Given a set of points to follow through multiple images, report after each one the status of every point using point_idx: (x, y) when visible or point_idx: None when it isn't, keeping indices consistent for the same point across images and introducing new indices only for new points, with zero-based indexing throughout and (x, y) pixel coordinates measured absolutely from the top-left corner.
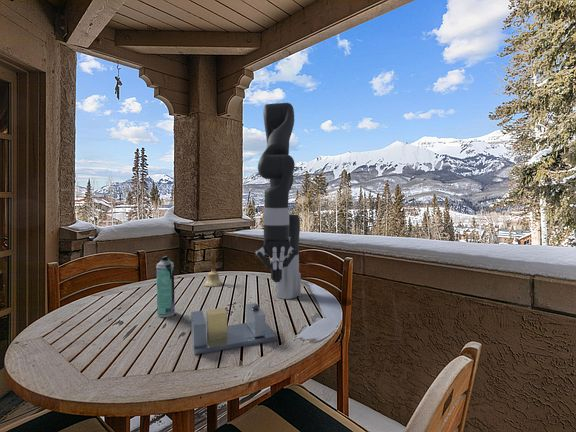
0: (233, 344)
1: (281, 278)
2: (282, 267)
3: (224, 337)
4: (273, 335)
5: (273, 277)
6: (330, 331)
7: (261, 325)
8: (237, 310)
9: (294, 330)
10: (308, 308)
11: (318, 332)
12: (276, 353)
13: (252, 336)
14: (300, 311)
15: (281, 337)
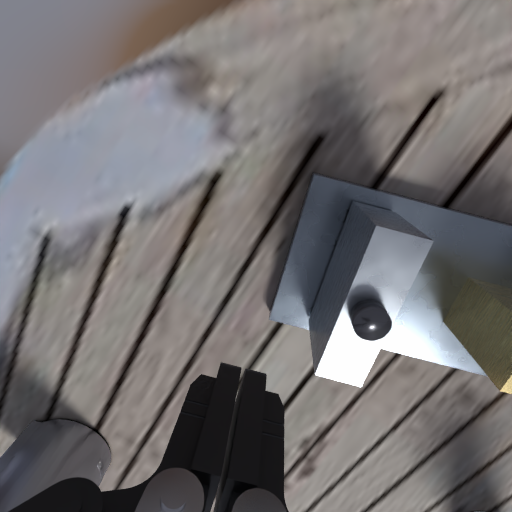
0: (484, 219)
1: (195, 382)
2: (147, 488)
3: (479, 280)
4: (320, 188)
5: (273, 417)
6: (82, 109)
7: (380, 216)
8: (284, 443)
9: (205, 205)
10: (56, 329)
11: (131, 132)
12: (381, 75)
13: None
14: (96, 324)
15: (281, 184)
